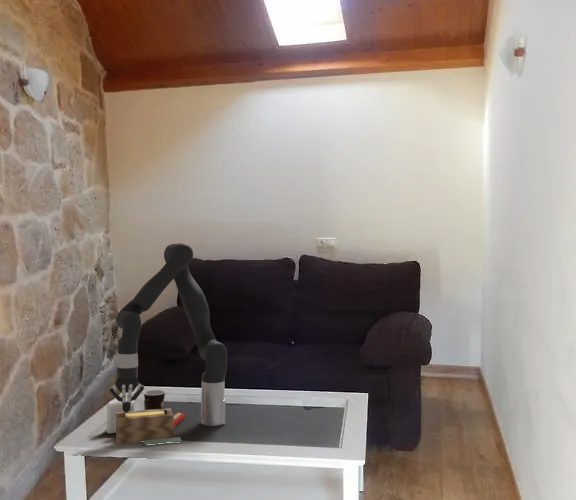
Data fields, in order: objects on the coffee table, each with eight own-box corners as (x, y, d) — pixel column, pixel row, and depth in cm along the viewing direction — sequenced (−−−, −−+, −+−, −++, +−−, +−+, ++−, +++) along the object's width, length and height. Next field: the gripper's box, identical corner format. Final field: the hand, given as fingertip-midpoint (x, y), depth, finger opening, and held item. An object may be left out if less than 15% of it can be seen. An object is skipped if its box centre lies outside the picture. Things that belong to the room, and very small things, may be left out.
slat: (163, 418, 216) (163, 410, 216) (164, 421, 212) (164, 413, 212) (124, 421, 212) (125, 413, 212) (125, 424, 208) (125, 416, 208)
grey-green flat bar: (180, 439, 211) (180, 437, 211) (181, 442, 208) (181, 440, 208) (144, 442, 207) (144, 440, 207) (144, 446, 204) (144, 443, 204)
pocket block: (170, 431, 220) (170, 408, 220) (173, 439, 211) (173, 415, 211) (116, 436, 213) (116, 412, 213) (116, 444, 205) (117, 419, 205)
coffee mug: (155, 411, 244) (155, 388, 244) (169, 415, 239) (169, 392, 239) (133, 418, 235) (133, 394, 235) (147, 422, 230) (147, 398, 230)
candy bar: (171, 431, 221) (171, 423, 221) (162, 430, 222) (163, 422, 222) (186, 418, 237) (186, 411, 237) (178, 417, 238) (178, 410, 238)
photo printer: (131, 427, 224) (132, 395, 224) (135, 430, 221) (135, 398, 220) (105, 431, 218) (105, 399, 218) (108, 434, 215) (108, 402, 215)
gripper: (145, 362, 216) (144, 408, 216) (108, 363, 211) (107, 410, 212) (146, 366, 208) (145, 413, 209) (108, 368, 204) (107, 416, 204)
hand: (126, 411), depth 210 cm, fingers closed
